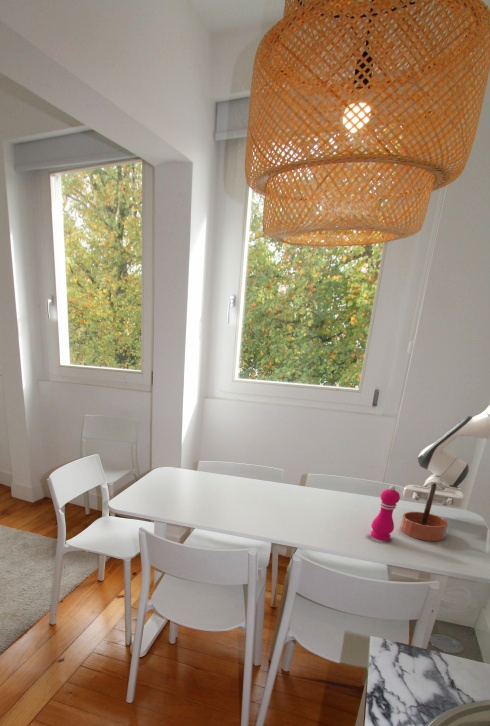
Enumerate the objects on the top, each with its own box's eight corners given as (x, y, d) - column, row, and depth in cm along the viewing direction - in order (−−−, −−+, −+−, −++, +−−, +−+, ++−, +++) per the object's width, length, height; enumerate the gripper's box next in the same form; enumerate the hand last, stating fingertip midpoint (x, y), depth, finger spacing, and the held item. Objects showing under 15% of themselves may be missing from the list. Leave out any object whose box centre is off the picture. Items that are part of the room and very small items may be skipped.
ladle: (431, 531, 173) (444, 482, 166) (429, 537, 168) (442, 486, 161) (414, 528, 176) (426, 479, 169) (412, 533, 171) (424, 483, 164)
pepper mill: (389, 544, 164) (403, 491, 156) (367, 538, 167) (380, 486, 159) (391, 536, 170) (405, 484, 161) (370, 531, 173) (383, 480, 165)
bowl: (445, 532, 174) (449, 517, 172) (442, 546, 163) (446, 530, 161) (402, 523, 182) (406, 509, 179) (396, 535, 170) (400, 520, 168)
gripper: (407, 478, 190) (401, 487, 179) (466, 488, 179) (464, 498, 169) (403, 493, 192) (398, 502, 182) (462, 504, 181) (460, 514, 171)
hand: (430, 500), depth 175 cm, fingers open, 8 cm apart
